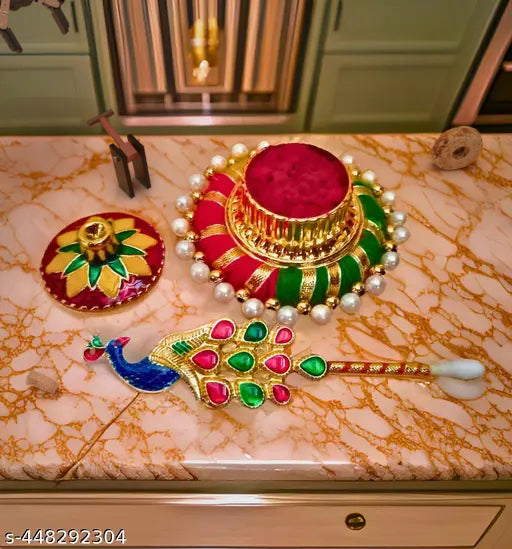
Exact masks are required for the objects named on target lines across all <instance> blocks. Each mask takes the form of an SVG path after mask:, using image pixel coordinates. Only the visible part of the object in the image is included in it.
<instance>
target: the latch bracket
mask: <svg viewBox="0 0 512 549" xmlns="http://www.w3.org/2000/svg"><path fill="white" fill-rule="evenodd" d="M126 140H127V142H128V141H129V142H130V144H131V145H132V146H133V147H134V149H135V150H136V151H137V159H135V160H133V161H131V164H132V167H133V173H134V177H135V178H136V180H138V181H139V182H140V184H142V185H143V186H144V188H145V189H146V190H149V189H151V188H152V182H151V178H150V172H149V166H148V161H147V154H146V150H145V145H143V144H142V142H140V141H139V139H137V137H135V136H134V135H133V133H129V134H127V135H126ZM108 148H109V151H110V156H111V159H112V164H113V167H114V172H115V176H116V180H117V184H118V187H119V188H120V189H121V191H123V192H124V193H125V194H126V195H127V196H128V198H130V200H132V199H133V198H135V197H136V194H135V189H134V186H133V180H132V176H131V171H130V167H129V163H128V162H127V157H126V155H125V154H124V153H123V152H122V151H121V150H120V149H119V146H118V145H117V144H116V143H115V142H112V143H110V144H108Z"/></svg>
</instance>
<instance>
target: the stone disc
mask: <svg viewBox="0 0 512 549" xmlns="http://www.w3.org/2000/svg"><path fill="white" fill-rule="evenodd" d="M483 146H484V144H483V137H482V135H481V133H480V131H479V130H478V129H476V128H474V127H472V126H468V125H461V126H460V125H459V126H456V127H452V128H450V129H448V130H445V131H444V132H442V134H440V135H439V137H438V138H437V139H436V140H435V141H434V143H433V146H432V148H431V150H430V156H431V159H432V161H433V162H434V164H435V165H436V166H437V167H438V168H440V169H442V170H446V171H449V170H450V171H451V170H456V169H462V168H465V167H467V166H469V165H471V164H472V163H474V161H476V160H477V159H478V158H479V156H480V154H481V152H482V149H483Z"/></svg>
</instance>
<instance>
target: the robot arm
mask: <svg viewBox="0 0 512 549" xmlns="http://www.w3.org/2000/svg"><path fill="white" fill-rule="evenodd" d="M65 1H66V0H0V36H1V37H2V39H3V40H4V41H5V43H6V45H7V47H8V49H9V50H10V51H11V52H12V53H16V55H20V54H22V53H23V51H24V50H23V47H22V45H21V44H20V42H19V41H18V39H17V37H16V35H15V34H14V32H13V30H12V29H11V27H8V22H9V14H10V11H11V12H17V11H19V10H20V9H21V8H25V7H26V8H27V7H30V6H31V5H32V3H34V4H36V5H37V6H40V7H43V8H45V9H46V10H48V11H50V12H51V14H50V15H51V17H52V18H53V20H54V22H55V23H56V25H57V27H58V29H59V31H60V33H61V34H62V36H64V35H67V34H68V33H69V32H70V29H69V28H70V23H69V20H68V18H67V16H66V15H65V13H64V11H63V10H62V5H64V4H65Z"/></svg>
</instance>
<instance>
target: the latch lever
mask: <svg viewBox="0 0 512 549" xmlns="http://www.w3.org/2000/svg"><path fill="white" fill-rule="evenodd" d="M113 116H115V112H114V110H113V108H110V109H108V110H106V111H104V112H102V113H100V114H98V115H96V116H94V117H92V118H90V119H88V120H86V124H87V126H88V127H89V128H91V127H92V126H95V125H97V124H99V123H100V125H101V126H102V128H103V129H104V130H105V131H106V133H107V134H108V135H109V136H110V138H111V139H112V141H114V143H115V145H116V146H117V147H118V148H119V149H120V150H121V151H122V152H123V153H124V154H125V155H126V157H127V162H128V164H129V163H132V161H133V160H135V159H137V151H136V150H135V149H134V147H133V146H132V145H131V144H130V142H129V141H128V140H127V141H126V142H125V141H124V140H123V139H122V137H121V136H120V135H119V133H118V132H117V131H116V130H115V128H114V127H113V126H112V125H111V123H110V122H109V121H108V119H109V118H110V117H113Z"/></svg>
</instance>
